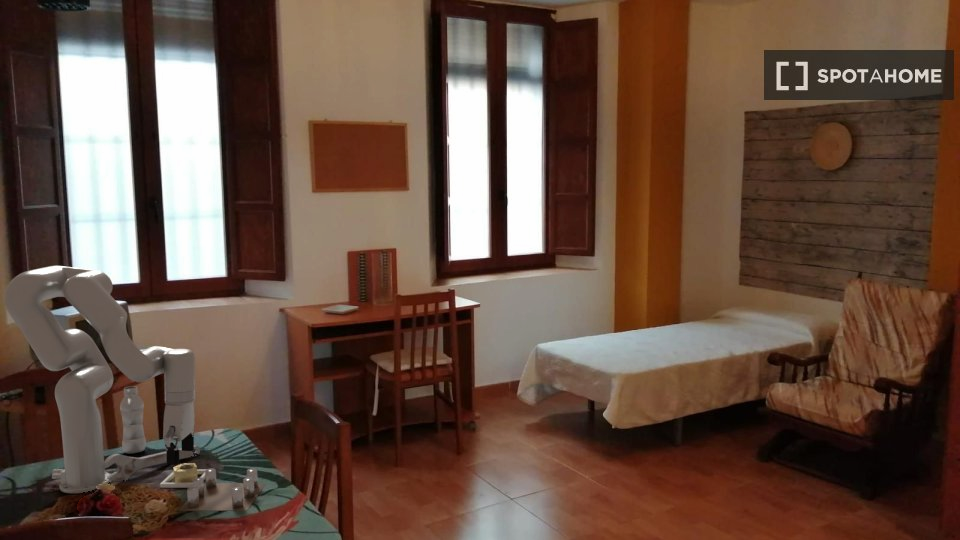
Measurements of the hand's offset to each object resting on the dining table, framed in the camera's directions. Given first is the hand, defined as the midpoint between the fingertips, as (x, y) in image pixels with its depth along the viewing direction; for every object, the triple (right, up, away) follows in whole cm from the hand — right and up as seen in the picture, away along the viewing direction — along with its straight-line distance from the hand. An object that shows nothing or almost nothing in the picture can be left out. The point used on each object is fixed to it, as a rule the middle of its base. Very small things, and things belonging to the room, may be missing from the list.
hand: (180, 457), depth 204 cm
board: (+15, -9, -10) cm, 20 cm away
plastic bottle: (-24, -5, +25) cm, 34 cm away
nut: (+1, -7, +1) cm, 7 cm away
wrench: (-12, -7, +11) cm, 18 cm away
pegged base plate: (+15, -8, -10) cm, 19 cm away
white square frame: (+1, -7, +1) cm, 7 cm away
